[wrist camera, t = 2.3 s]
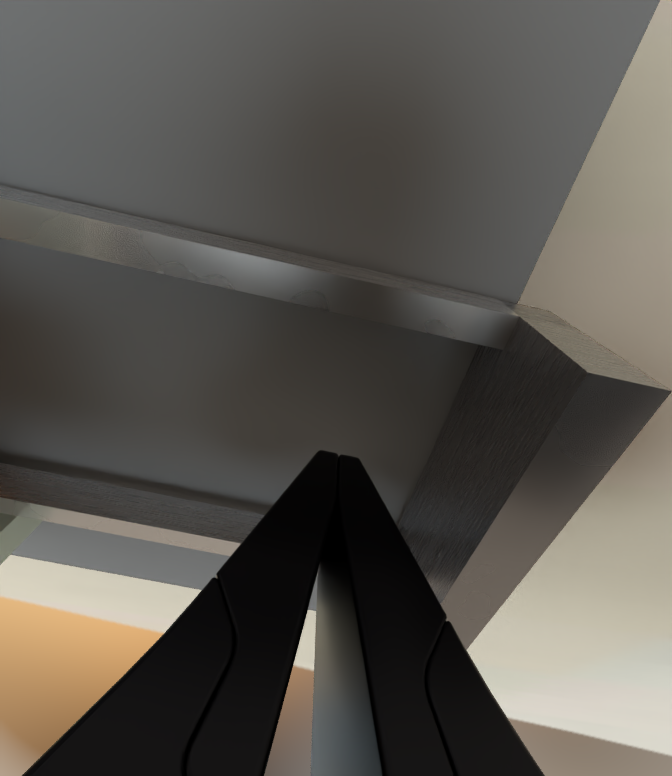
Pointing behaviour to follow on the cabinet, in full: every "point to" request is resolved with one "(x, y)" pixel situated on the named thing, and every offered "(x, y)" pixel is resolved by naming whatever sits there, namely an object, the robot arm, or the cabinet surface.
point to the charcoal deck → (273, 230)
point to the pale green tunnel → (14, 532)
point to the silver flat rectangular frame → (455, 441)
